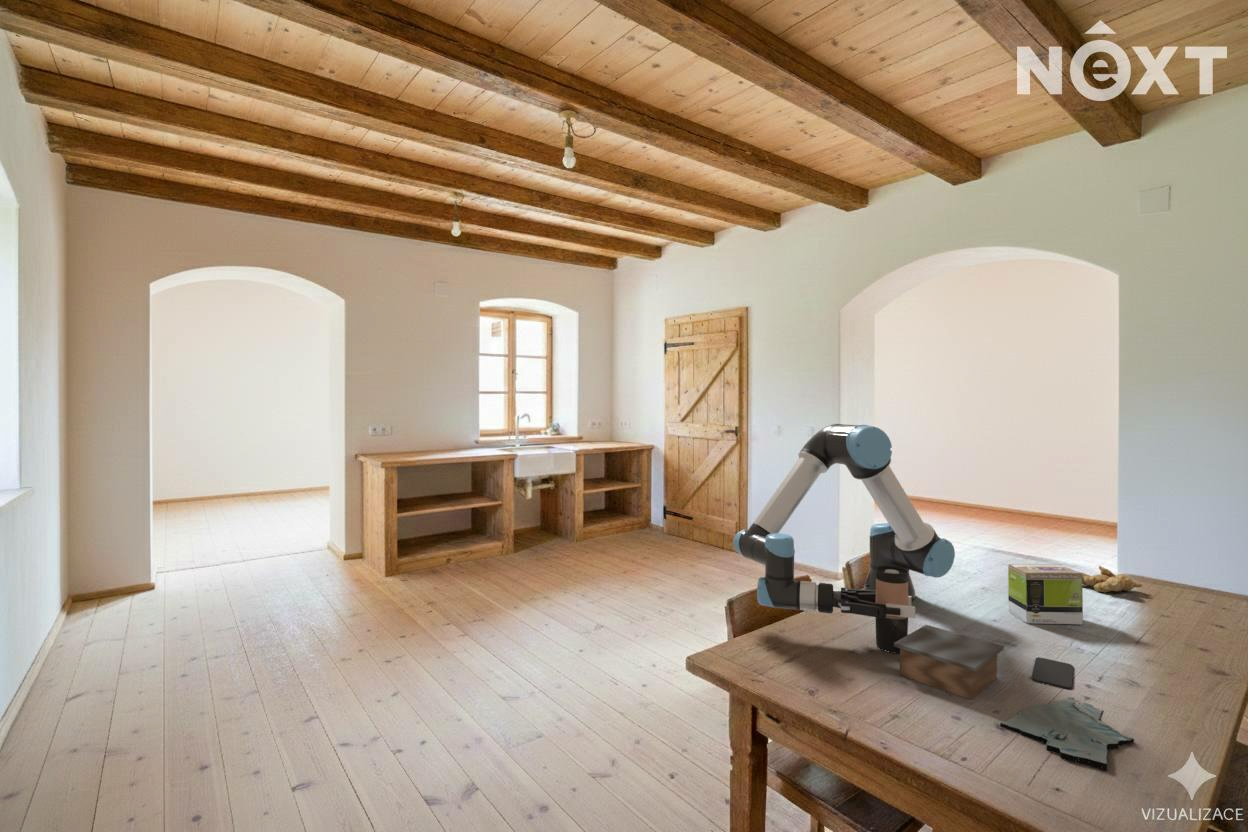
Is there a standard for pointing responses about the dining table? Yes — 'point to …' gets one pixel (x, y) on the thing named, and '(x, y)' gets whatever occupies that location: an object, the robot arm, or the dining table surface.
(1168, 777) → the dining table surface
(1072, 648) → the dining table surface
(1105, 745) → the decorative slab
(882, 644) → the travel mug
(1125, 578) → the ginger root
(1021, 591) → the tea box
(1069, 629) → the dining table surface
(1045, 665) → the phone
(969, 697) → the podium
